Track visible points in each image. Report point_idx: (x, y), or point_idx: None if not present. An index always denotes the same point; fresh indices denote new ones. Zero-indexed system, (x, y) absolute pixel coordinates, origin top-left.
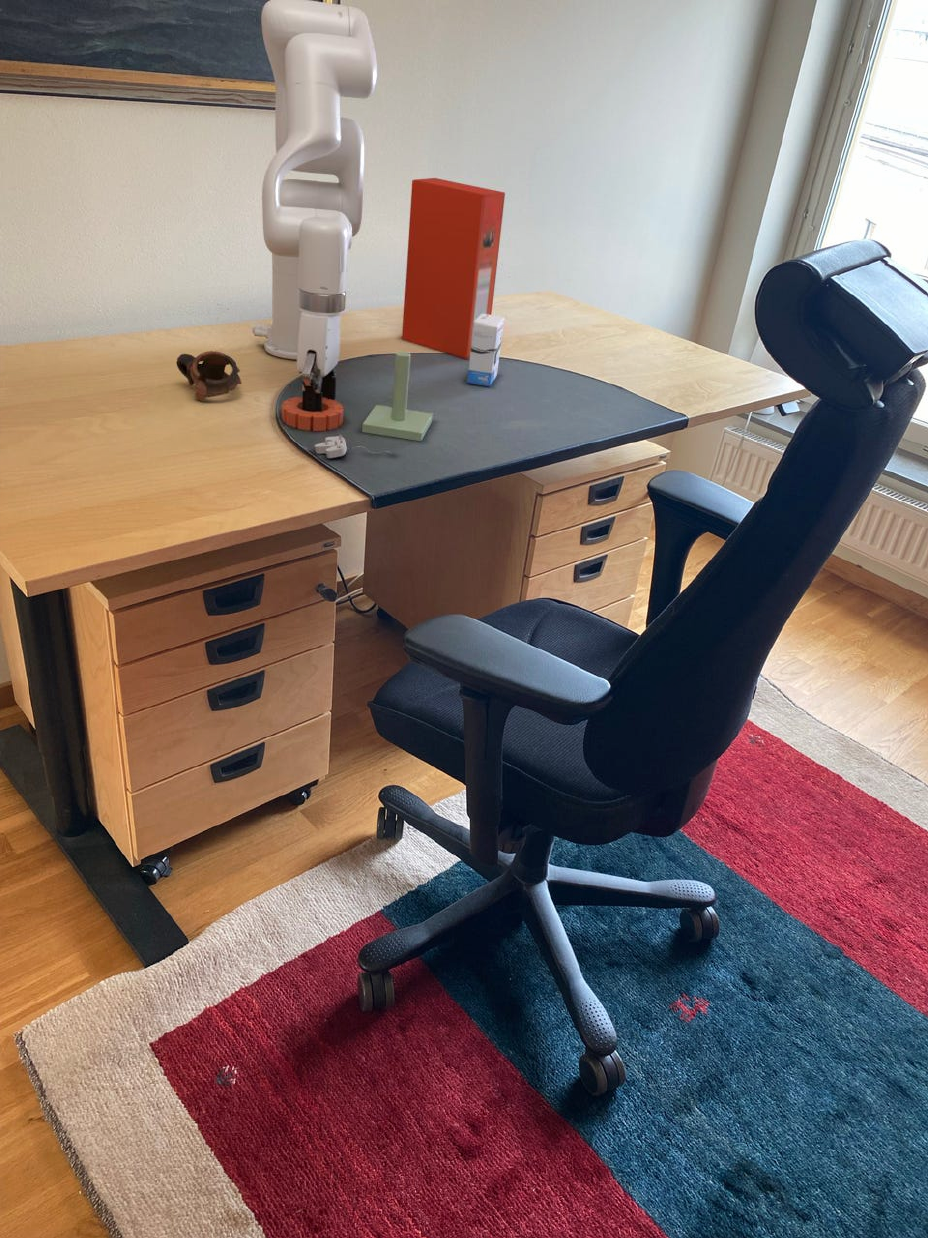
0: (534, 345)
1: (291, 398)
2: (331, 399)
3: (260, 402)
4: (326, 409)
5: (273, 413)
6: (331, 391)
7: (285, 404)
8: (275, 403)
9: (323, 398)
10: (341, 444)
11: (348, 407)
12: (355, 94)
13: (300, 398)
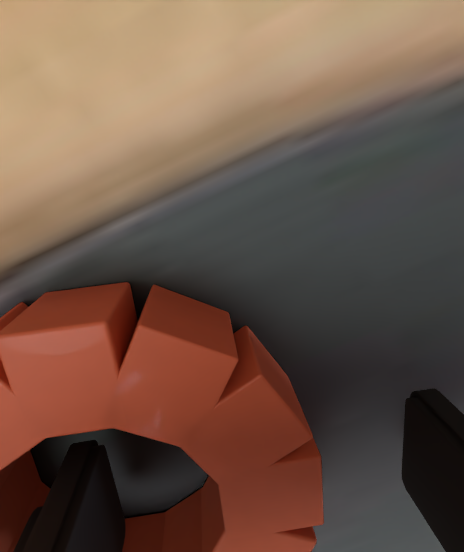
0: None
1: (169, 344)
2: (402, 474)
3: (243, 5)
4: (203, 531)
5: (81, 208)
6: (436, 521)
7: (5, 363)
8: (282, 129)
9: (303, 511)
10: None
11: (409, 499)
12: None
13: (214, 398)
